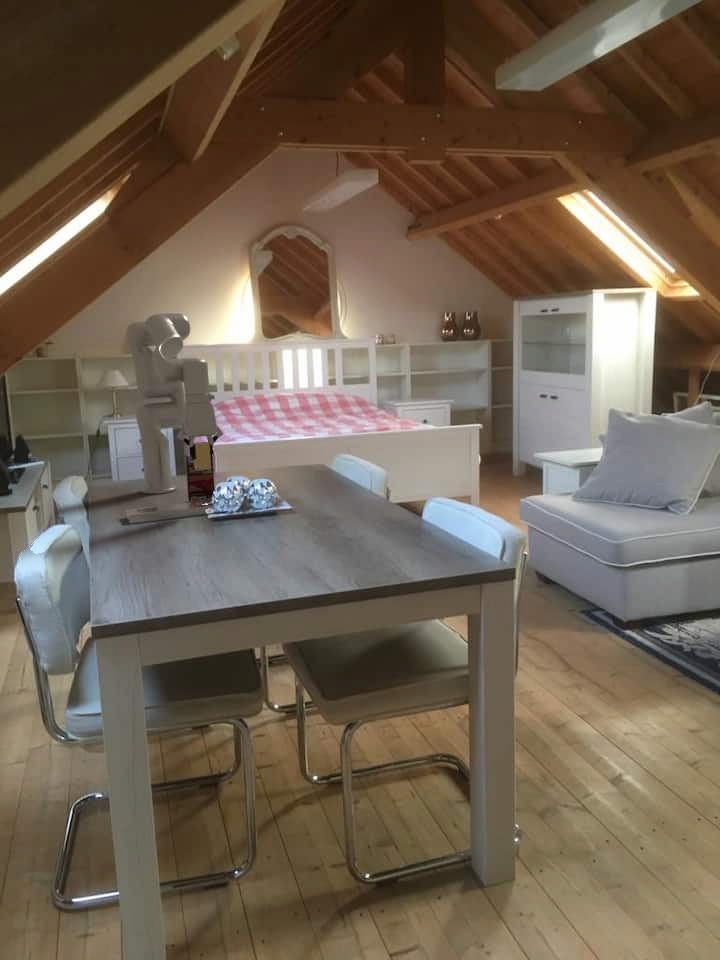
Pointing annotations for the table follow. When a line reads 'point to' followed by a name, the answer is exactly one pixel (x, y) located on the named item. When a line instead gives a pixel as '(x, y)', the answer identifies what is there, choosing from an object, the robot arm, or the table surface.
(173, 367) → the robot arm
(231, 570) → the table surface
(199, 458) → the yellow rectangular block
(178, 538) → the table surface
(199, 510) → the grey board
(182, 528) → the table surface
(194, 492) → the supplement box
